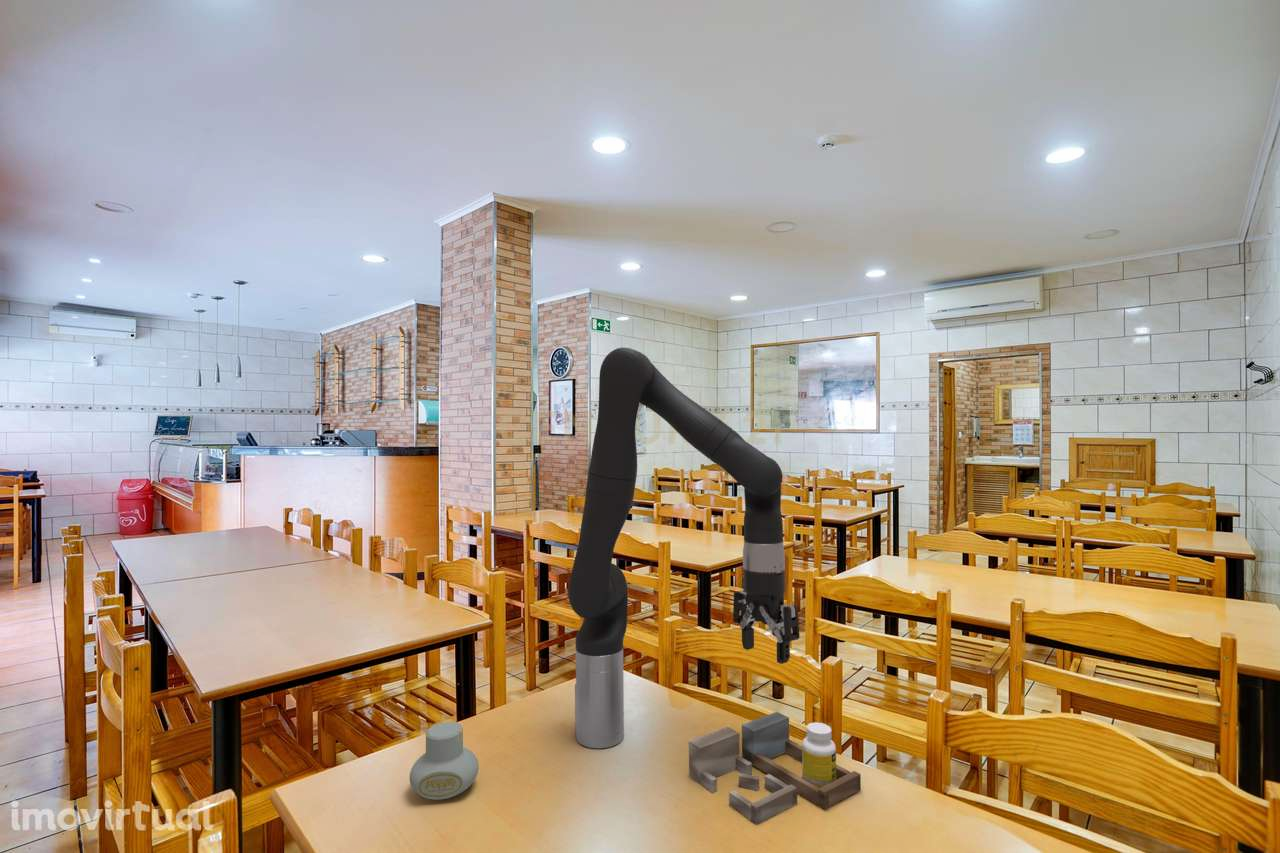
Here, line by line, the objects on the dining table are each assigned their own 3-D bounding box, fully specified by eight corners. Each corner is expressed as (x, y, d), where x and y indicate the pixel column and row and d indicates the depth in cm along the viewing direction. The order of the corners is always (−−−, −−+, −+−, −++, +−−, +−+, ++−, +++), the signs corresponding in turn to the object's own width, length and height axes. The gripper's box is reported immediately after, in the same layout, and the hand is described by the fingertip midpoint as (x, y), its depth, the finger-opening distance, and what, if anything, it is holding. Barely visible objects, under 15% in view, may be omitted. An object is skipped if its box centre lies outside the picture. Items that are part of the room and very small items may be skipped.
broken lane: (689, 776, 105) (688, 740, 105) (728, 759, 110) (727, 726, 110) (756, 824, 92) (756, 784, 92) (797, 803, 97) (796, 765, 97)
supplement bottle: (838, 798, 99) (837, 737, 99) (803, 794, 100) (802, 734, 100) (834, 779, 104) (833, 721, 104) (801, 776, 105) (800, 718, 105)
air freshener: (404, 807, 97) (404, 744, 97) (415, 778, 105) (415, 720, 106) (475, 801, 99) (475, 738, 99) (481, 773, 107) (480, 715, 107)
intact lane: (742, 758, 110) (741, 724, 110) (777, 743, 115) (776, 711, 115) (824, 809, 95) (824, 770, 95) (860, 789, 100) (860, 752, 100)
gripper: (722, 562, 116) (723, 648, 116) (778, 576, 104) (780, 672, 104) (751, 557, 120) (752, 640, 120) (808, 570, 108) (810, 662, 108)
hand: (765, 655), depth 112 cm, fingers open, 8 cm apart
